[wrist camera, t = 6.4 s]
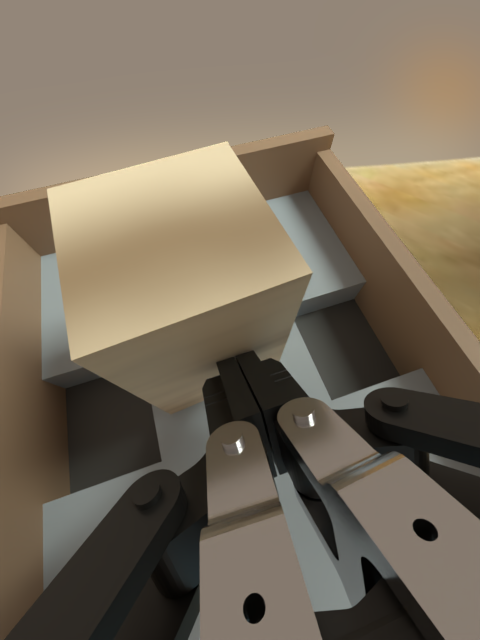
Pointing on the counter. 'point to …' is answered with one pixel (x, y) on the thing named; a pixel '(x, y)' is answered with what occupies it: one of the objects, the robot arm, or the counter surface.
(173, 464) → the tray
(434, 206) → the counter surface
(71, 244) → the birch block
